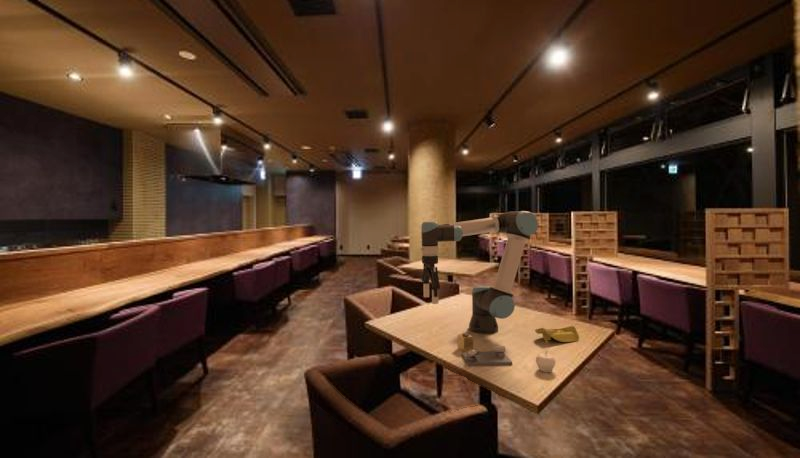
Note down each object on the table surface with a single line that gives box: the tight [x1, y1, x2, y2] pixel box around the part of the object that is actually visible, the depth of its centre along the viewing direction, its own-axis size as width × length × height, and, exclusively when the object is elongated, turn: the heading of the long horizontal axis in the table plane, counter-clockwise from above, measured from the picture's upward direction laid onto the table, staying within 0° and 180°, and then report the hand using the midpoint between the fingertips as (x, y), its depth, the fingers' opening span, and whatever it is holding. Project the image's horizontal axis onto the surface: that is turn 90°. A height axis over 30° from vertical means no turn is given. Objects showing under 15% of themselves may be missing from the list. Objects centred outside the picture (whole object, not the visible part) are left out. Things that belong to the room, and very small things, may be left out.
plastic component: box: [534, 325, 580, 343], centre depth 177 cm, size 20×7×10 cm
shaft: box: [466, 347, 481, 362], centre depth 150 cm, size 5×4×4 cm
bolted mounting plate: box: [461, 345, 513, 367], centre depth 153 cm, size 18×12×5 cm, turn 93°
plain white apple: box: [535, 349, 556, 373], centre depth 142 cm, size 7×7×8 cm
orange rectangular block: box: [457, 332, 474, 352], centre depth 164 cm, size 5×5×7 cm
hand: (430, 300), depth 170 cm, fingers open, 13 cm apart
